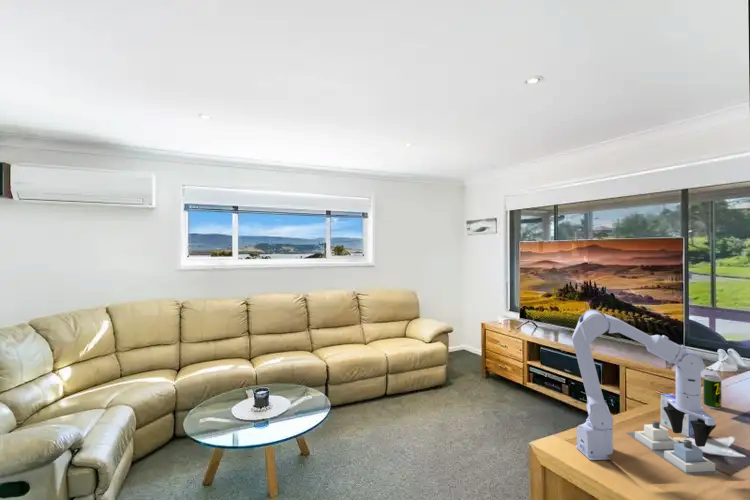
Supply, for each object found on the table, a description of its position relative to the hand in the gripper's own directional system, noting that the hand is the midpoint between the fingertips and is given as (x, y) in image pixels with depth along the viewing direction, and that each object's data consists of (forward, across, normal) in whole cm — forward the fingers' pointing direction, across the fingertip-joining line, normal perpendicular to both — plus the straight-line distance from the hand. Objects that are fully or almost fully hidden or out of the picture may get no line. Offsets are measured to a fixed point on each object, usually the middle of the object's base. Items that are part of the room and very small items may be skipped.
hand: (688, 439), depth 109 cm
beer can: (+9, +40, -46) cm, 62 cm away
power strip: (+9, +7, 0) cm, 11 cm away
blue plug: (+7, 0, 0) cm, 7 cm away
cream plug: (+7, +12, 0) cm, 14 cm away
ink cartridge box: (+9, +20, -15) cm, 27 cm away
